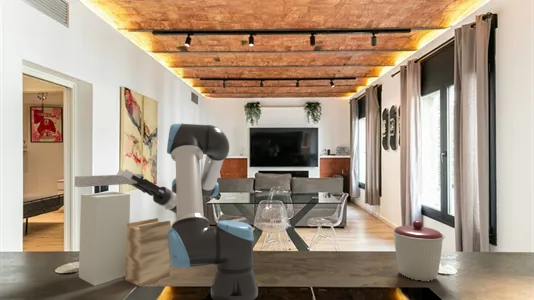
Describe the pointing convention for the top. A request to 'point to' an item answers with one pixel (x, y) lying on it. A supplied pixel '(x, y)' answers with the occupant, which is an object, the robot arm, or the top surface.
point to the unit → (103, 236)
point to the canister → (418, 251)
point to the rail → (102, 180)
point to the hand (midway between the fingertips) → (121, 172)
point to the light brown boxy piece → (147, 251)
